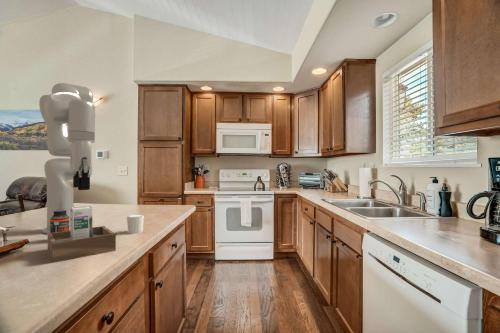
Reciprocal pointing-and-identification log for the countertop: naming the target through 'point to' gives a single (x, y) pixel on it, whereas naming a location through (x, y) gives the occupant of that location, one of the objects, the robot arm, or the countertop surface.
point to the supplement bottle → (59, 221)
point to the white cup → (135, 223)
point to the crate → (80, 244)
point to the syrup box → (81, 222)
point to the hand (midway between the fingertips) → (81, 188)
